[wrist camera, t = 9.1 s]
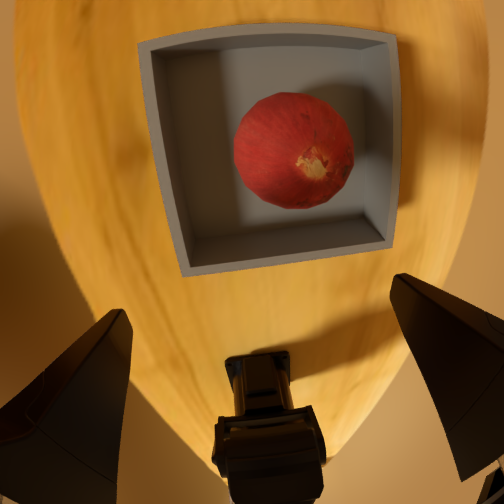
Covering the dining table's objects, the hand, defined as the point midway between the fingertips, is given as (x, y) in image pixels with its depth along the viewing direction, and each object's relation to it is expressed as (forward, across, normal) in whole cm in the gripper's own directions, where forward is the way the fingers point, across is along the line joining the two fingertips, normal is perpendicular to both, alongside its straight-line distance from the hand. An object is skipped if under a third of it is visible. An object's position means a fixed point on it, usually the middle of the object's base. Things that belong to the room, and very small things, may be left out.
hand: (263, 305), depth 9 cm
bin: (+12, -2, -4) cm, 12 cm away
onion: (+11, -3, -4) cm, 12 cm away
